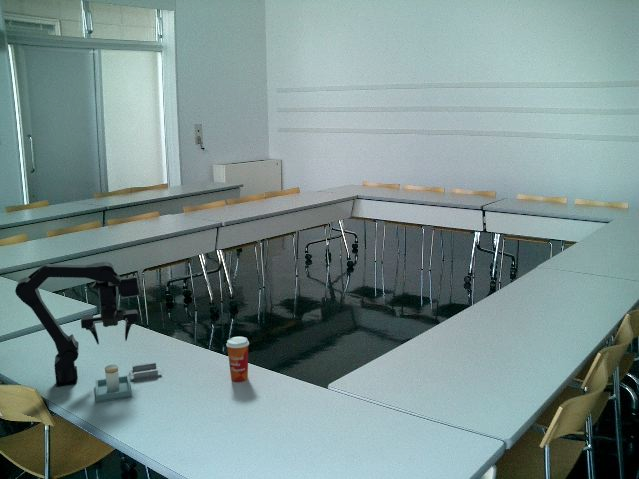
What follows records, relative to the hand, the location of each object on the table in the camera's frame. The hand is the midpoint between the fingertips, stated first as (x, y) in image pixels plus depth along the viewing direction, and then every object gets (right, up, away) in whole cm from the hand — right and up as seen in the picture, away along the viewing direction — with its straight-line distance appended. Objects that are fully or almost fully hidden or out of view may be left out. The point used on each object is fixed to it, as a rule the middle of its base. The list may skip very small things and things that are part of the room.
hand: (112, 342), depth 224 cm
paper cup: (+45, -12, -3) cm, 46 cm away
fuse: (+4, -14, -11) cm, 18 cm away
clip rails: (+11, -12, +2) cm, 16 cm away
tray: (+4, -15, -11) cm, 18 cm away
